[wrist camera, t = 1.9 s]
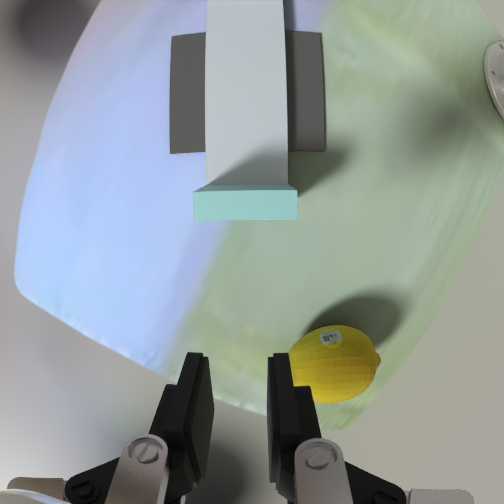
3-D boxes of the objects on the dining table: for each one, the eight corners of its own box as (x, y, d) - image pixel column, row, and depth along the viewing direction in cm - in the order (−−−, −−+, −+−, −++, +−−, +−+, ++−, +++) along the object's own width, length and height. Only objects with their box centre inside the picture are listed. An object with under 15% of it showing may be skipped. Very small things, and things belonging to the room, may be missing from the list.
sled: (285, -13, 21) (293, -51, 14) (291, 205, 27) (304, 219, 21) (204, -11, 21) (192, -48, 14) (203, 206, 28) (187, 221, 21)
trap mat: (319, 34, 23) (319, 33, 23) (323, 151, 26) (324, 151, 26) (172, 37, 23) (171, 36, 23) (170, 153, 27) (170, 153, 26)
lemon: (375, 312, 31) (404, 353, 24) (359, 369, 33) (379, 414, 26) (278, 309, 31) (285, 354, 23) (270, 368, 33) (274, 419, 26)
